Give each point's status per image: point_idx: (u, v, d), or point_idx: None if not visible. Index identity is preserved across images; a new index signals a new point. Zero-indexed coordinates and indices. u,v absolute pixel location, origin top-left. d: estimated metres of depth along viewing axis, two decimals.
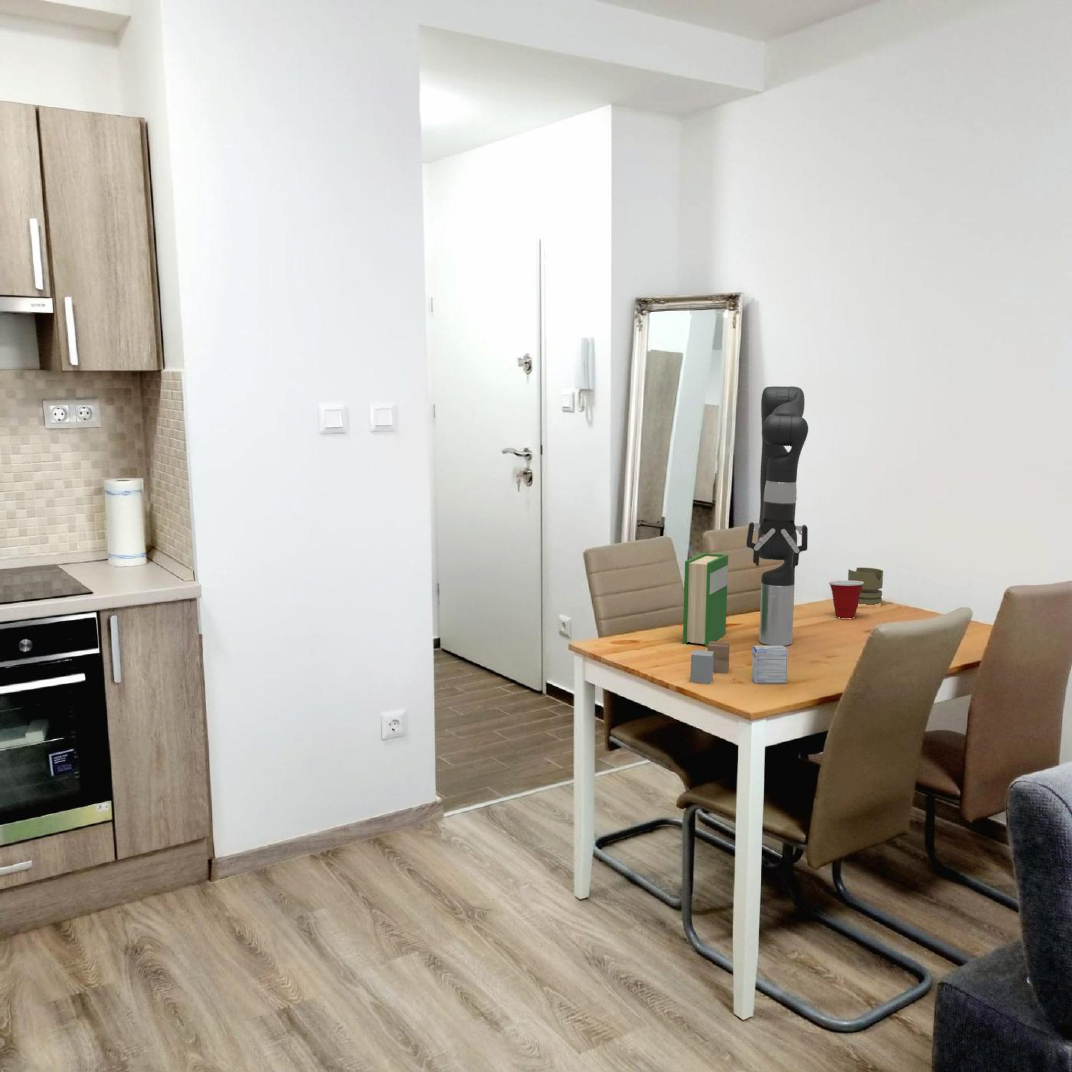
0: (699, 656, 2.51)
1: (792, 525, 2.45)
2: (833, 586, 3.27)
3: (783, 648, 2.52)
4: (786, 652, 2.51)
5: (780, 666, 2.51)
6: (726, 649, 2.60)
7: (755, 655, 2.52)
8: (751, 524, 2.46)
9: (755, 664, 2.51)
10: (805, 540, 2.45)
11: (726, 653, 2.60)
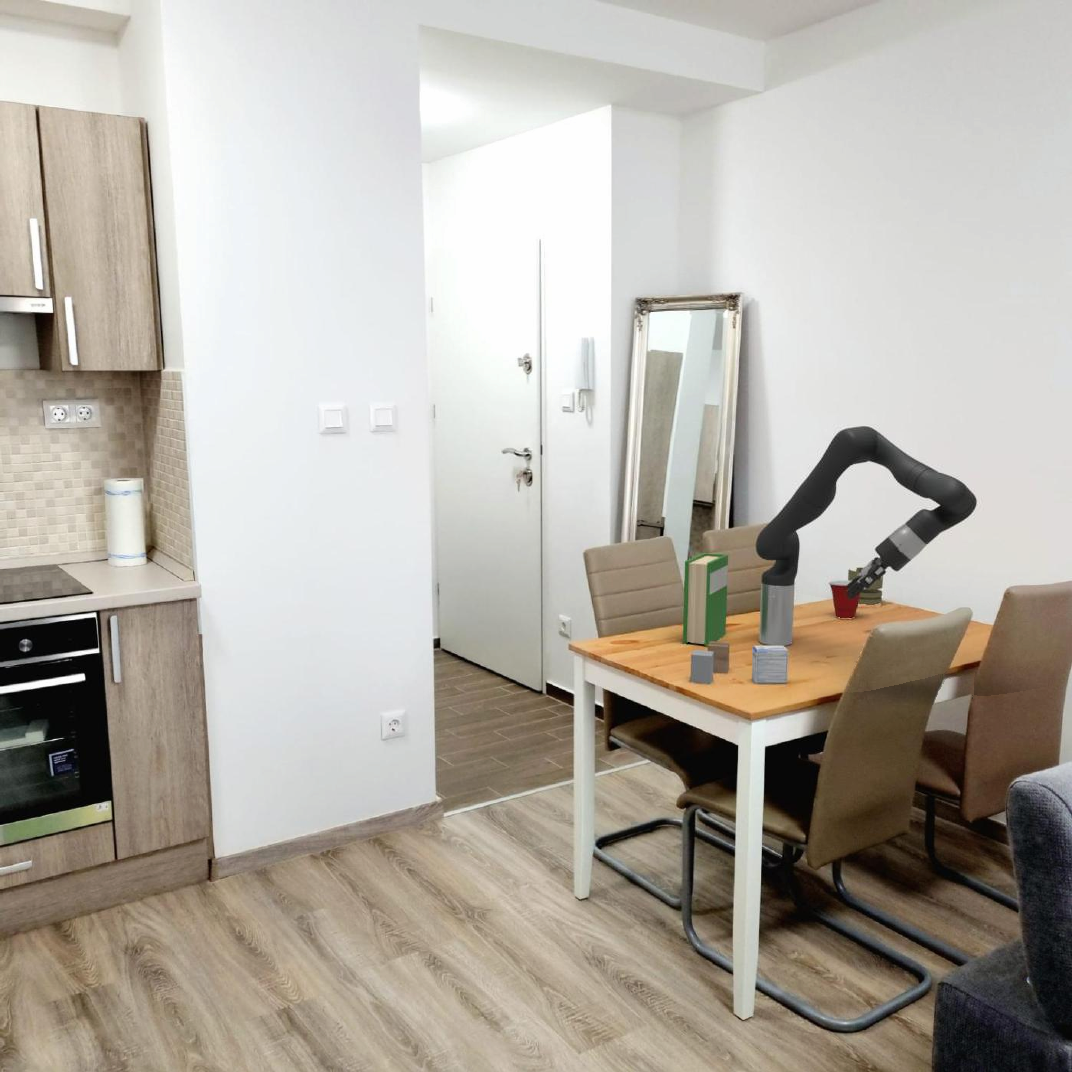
0: (699, 656, 2.51)
1: None
2: (833, 586, 3.27)
3: (783, 648, 2.52)
4: (786, 652, 2.51)
5: (780, 666, 2.51)
6: (726, 649, 2.60)
7: (755, 655, 2.52)
8: (885, 572, 2.37)
9: (755, 664, 2.51)
10: None
11: (726, 653, 2.60)
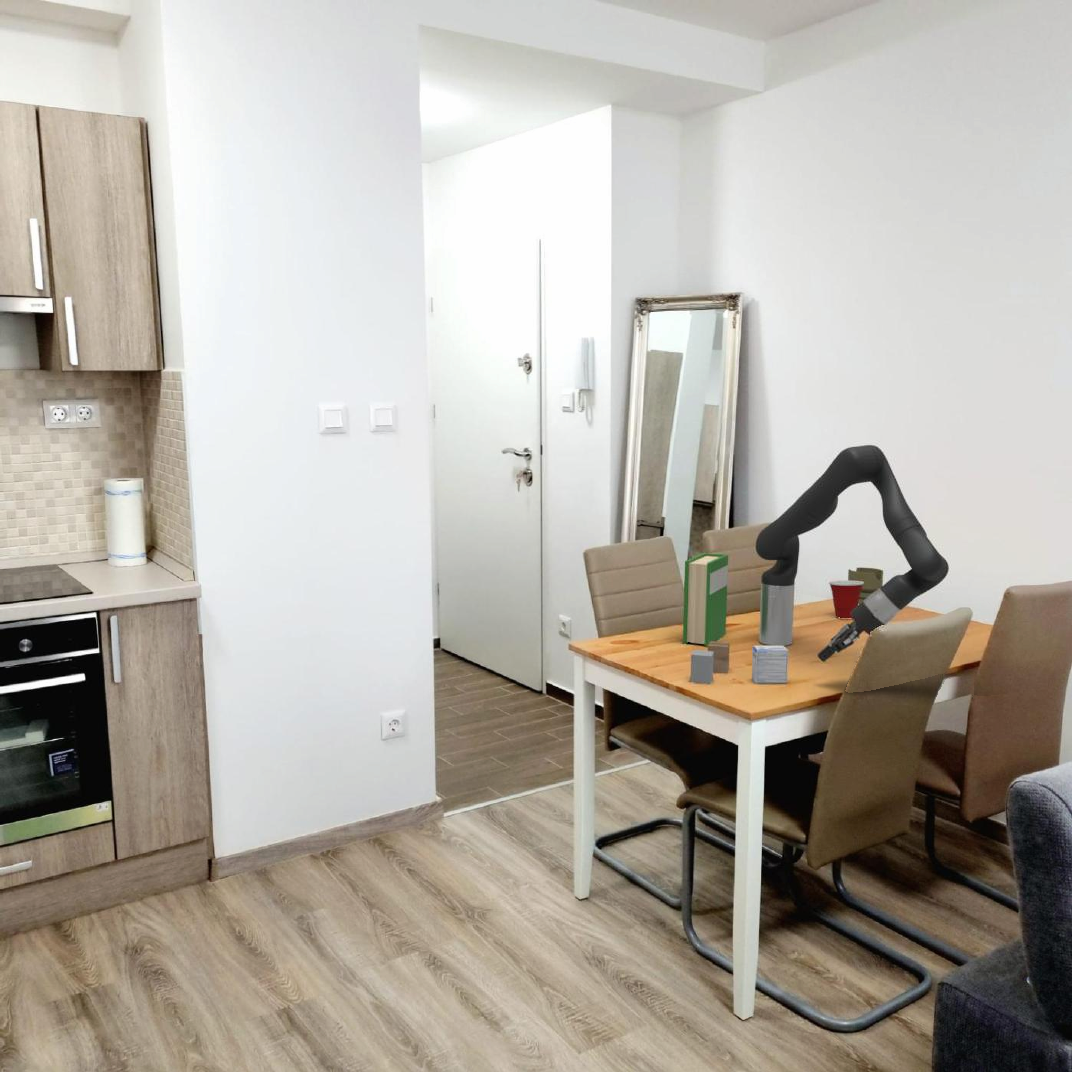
0: (699, 656, 2.51)
1: None
2: (833, 586, 3.27)
3: (783, 648, 2.52)
4: (786, 652, 2.51)
5: (780, 666, 2.51)
6: (726, 649, 2.60)
7: (755, 655, 2.52)
8: (852, 643, 2.42)
9: (755, 664, 2.51)
10: None
11: (726, 653, 2.60)
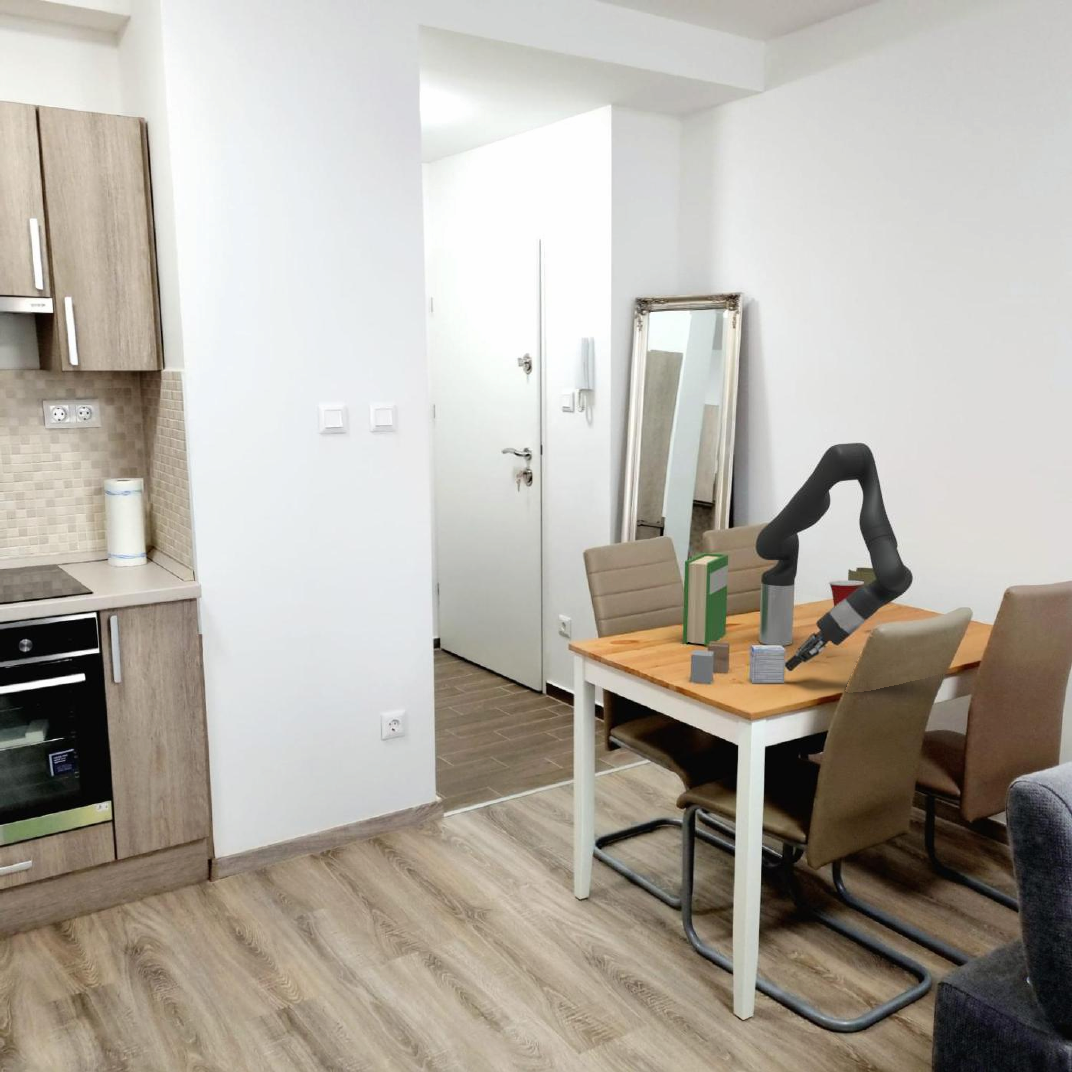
0: (699, 656, 2.51)
1: None
2: (833, 586, 3.27)
3: (781, 648, 2.52)
4: (783, 652, 2.51)
5: (777, 666, 2.51)
6: (726, 649, 2.60)
7: (752, 655, 2.52)
8: (818, 653, 2.44)
9: (752, 664, 2.52)
10: None
11: (726, 653, 2.60)
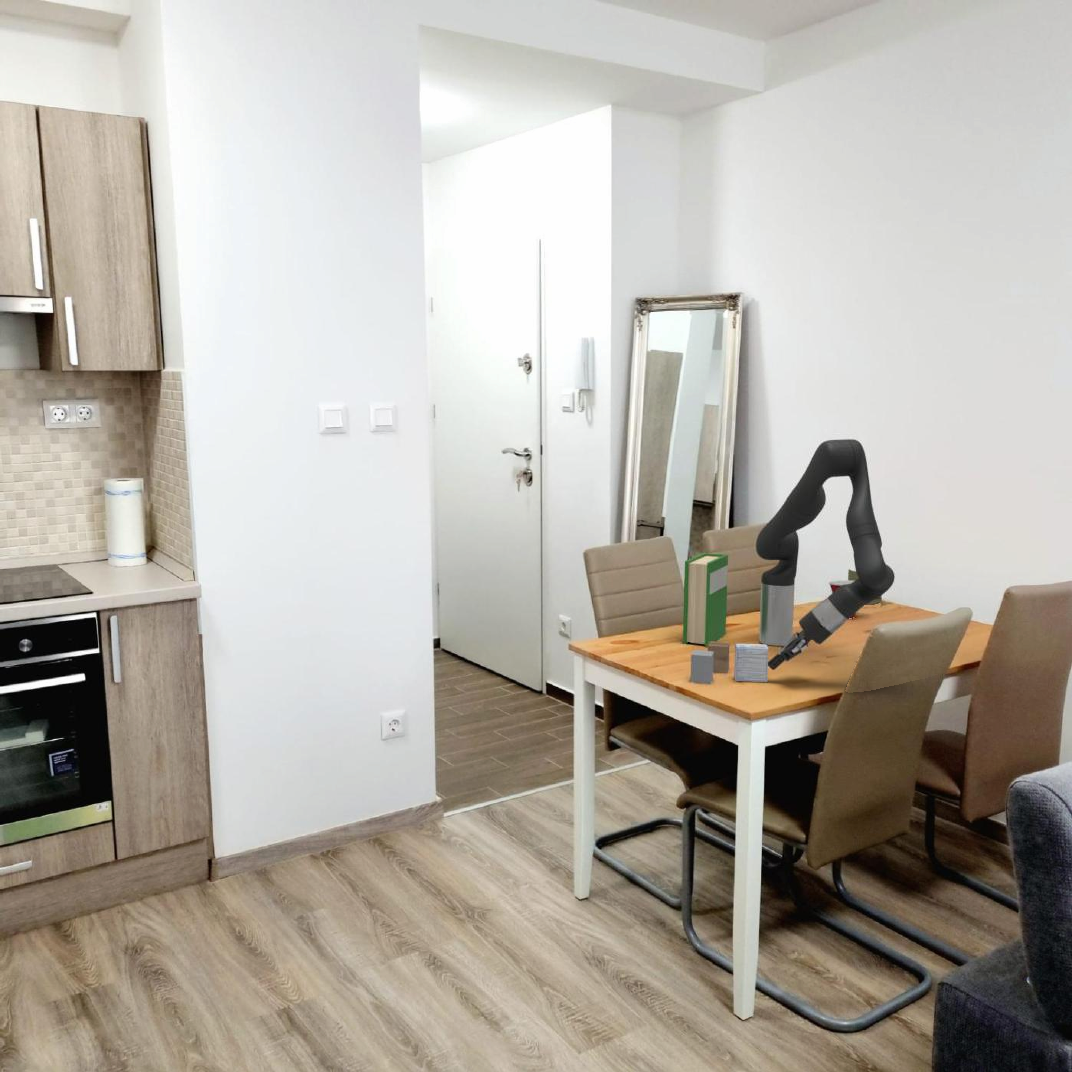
0: (699, 656, 2.51)
1: None
2: (833, 586, 3.27)
3: (764, 647, 2.53)
4: (766, 651, 2.52)
5: (760, 665, 2.52)
6: (726, 649, 2.60)
7: (735, 653, 2.54)
8: (800, 652, 2.45)
9: (735, 662, 2.53)
10: None
11: (726, 653, 2.60)
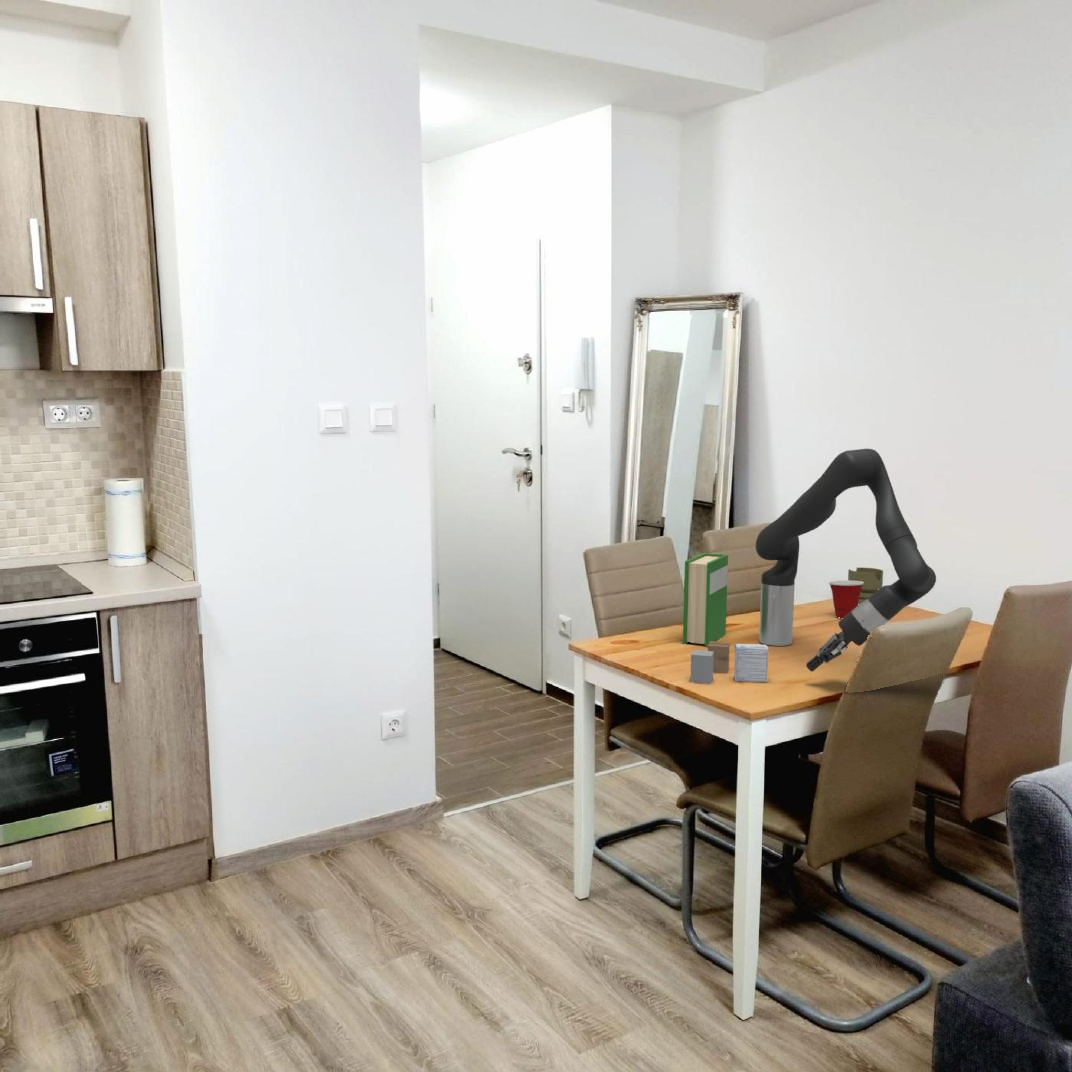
0: (699, 656, 2.51)
1: None
2: (833, 586, 3.27)
3: (764, 647, 2.53)
4: (766, 651, 2.52)
5: (760, 665, 2.52)
6: (726, 649, 2.60)
7: (735, 653, 2.54)
8: (840, 653, 2.43)
9: (735, 662, 2.53)
10: None
11: (726, 653, 2.60)
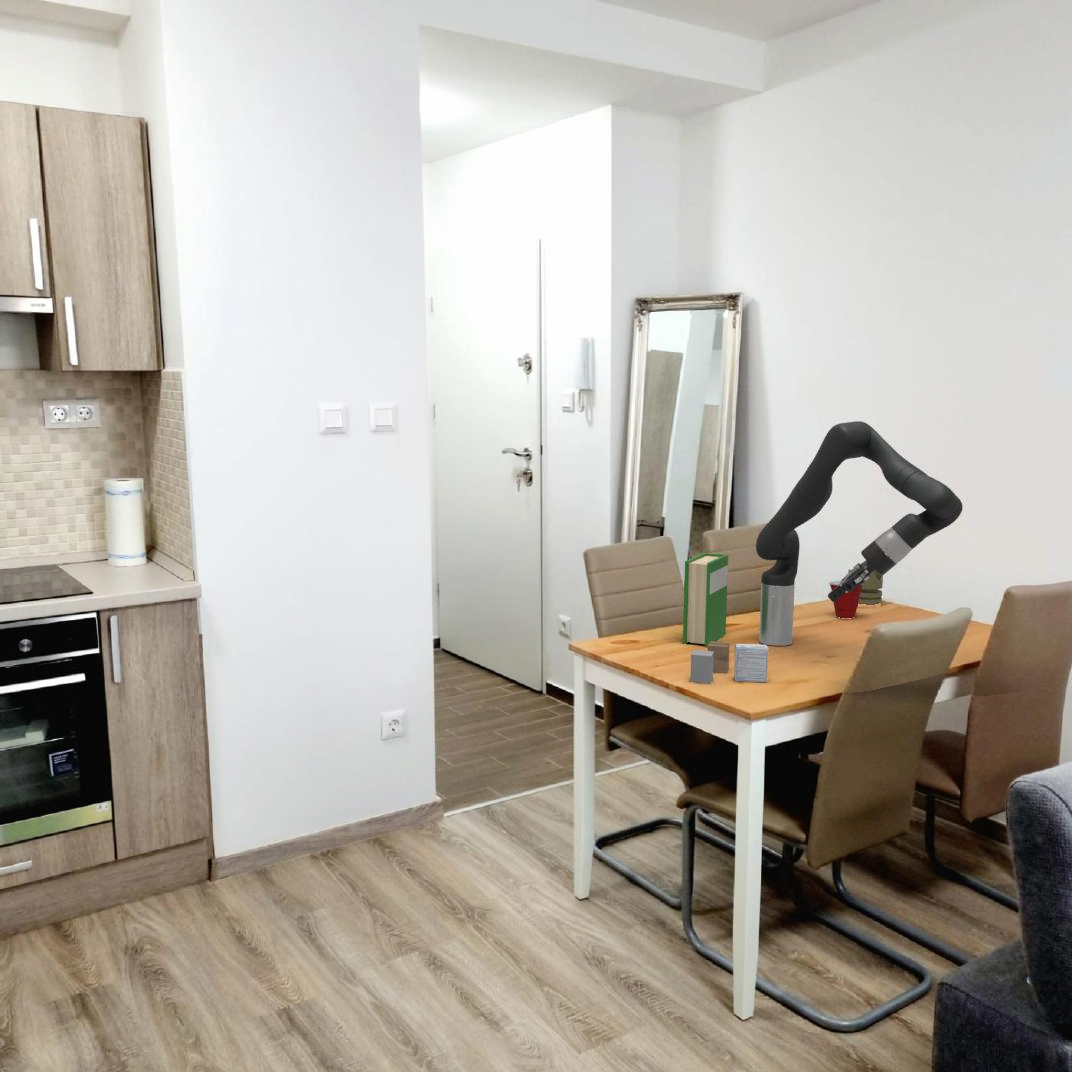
0: (699, 656, 2.51)
1: None
2: (833, 586, 3.27)
3: (764, 647, 2.53)
4: (766, 651, 2.52)
5: (760, 665, 2.52)
6: (726, 649, 2.60)
7: (735, 653, 2.54)
8: (863, 582, 2.39)
9: (735, 662, 2.53)
10: None
11: (726, 653, 2.60)
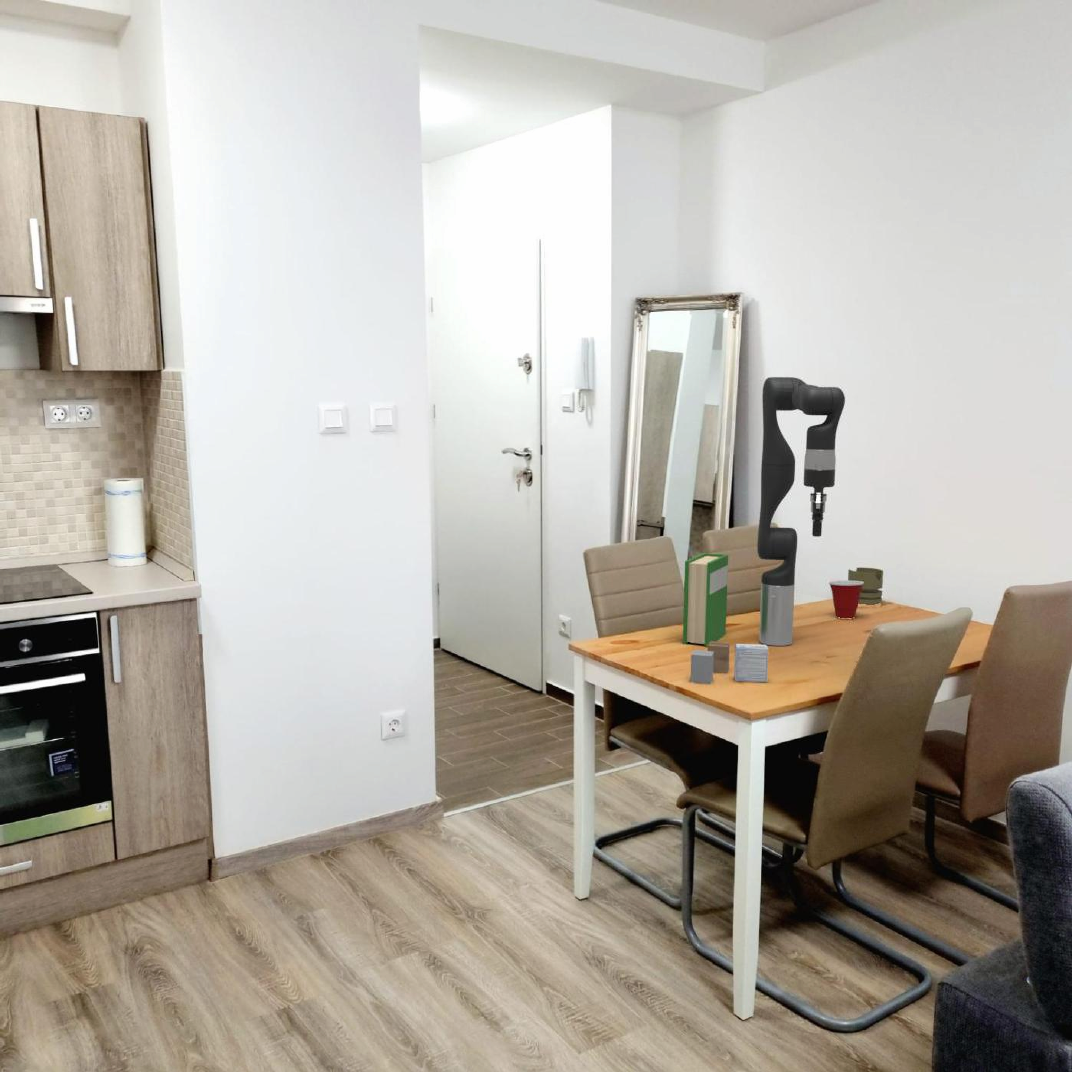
0: (699, 656, 2.51)
1: None
2: (833, 586, 3.27)
3: (764, 647, 2.53)
4: (766, 651, 2.52)
5: (760, 665, 2.52)
6: (726, 649, 2.60)
7: (735, 653, 2.54)
8: (823, 503, 2.52)
9: (735, 662, 2.53)
10: None
11: (726, 653, 2.60)
